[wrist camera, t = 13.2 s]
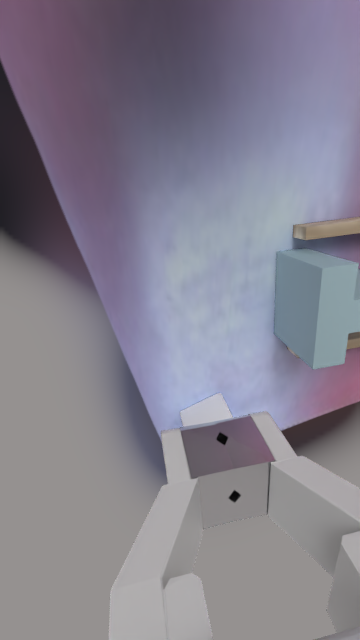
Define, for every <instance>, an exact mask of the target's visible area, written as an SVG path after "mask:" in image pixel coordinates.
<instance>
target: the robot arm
mask: <svg viewBox="0 0 360 640" xmlns="http://www.w3.org/2000/svg"><path fill="white" fill-rule="evenodd" d="M161 439H162V446H163V453H164V460H165V466H166V473H167V480H168V484H167V485H163V486H162V487H161V489H160V491H159V493H158V495H157V497H156V500H155V501H154V503H153V505H152V508H151V510H150V511H149V513H148V516H147V518H146V520H145V522H144V524H143V526H142V528H141V530H140V532H139V534H138V536H137V538H136V540H135V542H134V544H133V546H132V548H131V550H130V552H129V554H128V556H127V558H126V560H125V562H124V564H123V566H122V569H121V570H120V572H119V574H118V577H117V579H116V581H115V583H114V585H113V587H112V589H111V595H110V596H111V598H110V621H109V640H213V636H212V631H211V627H210V622H209V617H208V612H207V607H206V602H205V597H204V593H203V588H202V582H201V579H200V578H198V577H197V576H195V575H194V574H193V573H192V572H193V568H194V564H195V561H196V557H197V553H198V549H199V545H200V542H201V538H202V534H203V529H206V528H210V527H214V526H218V525H221V524H225V523H229V522H233V521H237V520H242V519H247V518H252V517H257V516H262V515H267V514H268V517H269V518H270V519H271V520H273V522H275V523H276V524H277V525H278V526H279V527H280V528H281V529H282V530H283V531H284V532H285V533H287V535H288V536H289V537H291V538H292V539H293V540H294V541H295V542H296V543H297V544H298V545H299V546H300V547H301V548H302V549H303V550H305V551H306V552H307V553H308V554H309V555H310V556H311V557H312V558H313V559H314V560H315V561H316V562H317V563H318V564H319V565H321V566H322V567H323V568H324V569H325V570H326V571H327V572H328V573H329V574H330V575H331V576H332V577H333V582H332V586H331V591H330V595H329V600H328V605H327V609H326V611H327V613H328V615H329V617H330V619H331V621H332V623H333V625H334V628H335V630H336V632H337V633H335V634H332V635H328V636H324V637H321V638H318V639H314V640H360V488H358V487H357V486H355V485H353V484H351V483H350V482H348V481H346V480H344V479H342V478H341V477H339V476H337V475H336V474H334V473H332V472H331V471H329V470H327V469H325V468H324V467H322V466H320V465H318V464H317V463H315V462H313V461H311V460H310V459H308V458H306V457H304V456H299V457H297V455H296V454H295V452H294V451H293V449H292V448H291V446H290V445H289V443H288V441H287V440H286V439H285V437H284V435H283V434H282V433H281V431H280V429H279V428H278V426H277V425H276V423H275V422H274V420H273V419H272V417H271V416H270V414H269V413H268V412H266V411H263V412H258V413H253V414H249V415H244V416H239V417H234V418H229V419H224V420H219V421H214V422H209V423H203V424H197V425H191V426H185V427H180V428H176V429H169V430H163V431H161Z"/></svg>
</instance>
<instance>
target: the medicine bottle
mask: <svg viewBox="0 0 360 640" xmlns="http://www.w3.org/2000/svg"><path fill="white" fill-rule="evenodd" d="M180 416H181V420H182V424H183V427H185V426H191V425H197V424H203V423H209V422H214V421H219V420H224V419H229V418H233V416H232V414H231V412H230V410H229V408H228V406H227V404H226V402H225V400H224V398H223V396H222V394H221V393H217V394H215V395H213V396H211V397H209V398H206V399H204V400H202V401H200V402H198V403H196V404H194V405H192V406H190V407H188V408H186V409H184V410H182V411H180Z"/></svg>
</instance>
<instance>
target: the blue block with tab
mask: <svg viewBox="0 0 360 640" xmlns="http://www.w3.org/2000/svg"><path fill="white" fill-rule="evenodd" d="M358 265H359V263H356V262H352V261H349V260H345V259H342V258H338V257H335V256H331V255H328V254H324V253H321V252H317V251H314V250H311V249H307V248H301V249H293V250H286V251H278V252H277V258H276V287H275V316H274V334H275V335H276V336H277V337H278V338H279V339H280V340H281V341H282V342H283V343H285V344H286V345H287V346H288V347H289V348H290V349H291V350H292V351H293V352H294V353H295V354H296V355H298V356H299V357H300V358H301V359H302V360H303V361H304V362H305V363H306V364H307V365H308V366H309V367H311V368H312V369H319V368H324V367H329V366H335V365H340V364H344V362H345V355H346V348H347V341H348V334H349V333H354V332H360V269H358Z"/></svg>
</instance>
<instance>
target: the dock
mask: <svg viewBox="0 0 360 640" xmlns="http://www.w3.org/2000/svg"><path fill="white" fill-rule="evenodd" d="M357 233H360V217H355V218H347V219H339V220H331V221H323V222H314V223H306V224H298V225H293V237H294V238H298V239H303V240H311V239H319V238H326V237H334V236H342V235H349V234H357ZM357 347H360V332H354V333H349V334H348V341H347V348H346V349H351V348H357ZM287 349H288V350H289V351H290V352H291V353H292V354H293V355H295V356H296V357H297V358H300V357H299V356H298V355H296V354H295V353H294V352H293V351H292V350H291V349H290V348H289V347H288V346H287Z"/></svg>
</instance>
